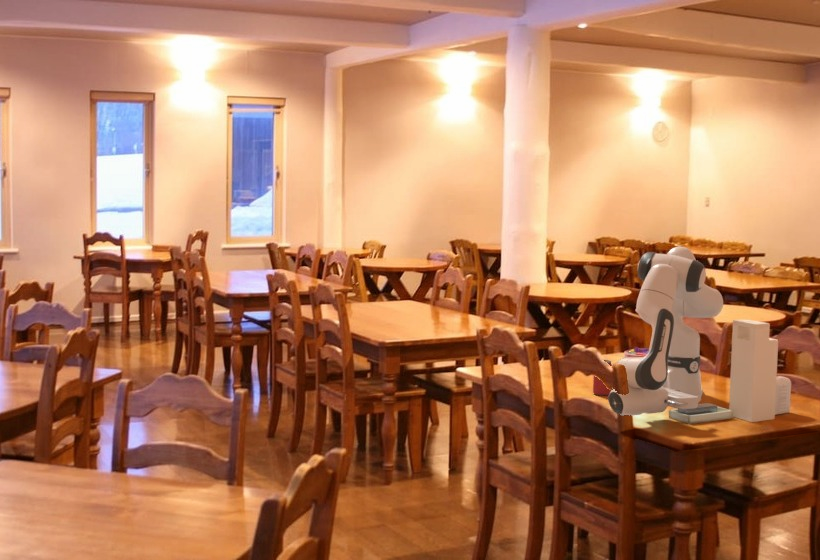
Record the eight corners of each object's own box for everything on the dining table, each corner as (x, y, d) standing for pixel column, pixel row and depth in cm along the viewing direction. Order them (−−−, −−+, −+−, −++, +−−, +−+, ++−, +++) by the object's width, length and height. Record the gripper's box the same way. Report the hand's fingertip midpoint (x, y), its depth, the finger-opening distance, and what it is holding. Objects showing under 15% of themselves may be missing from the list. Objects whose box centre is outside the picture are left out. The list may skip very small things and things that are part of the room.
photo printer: (780, 410, 352) (782, 374, 351) (791, 412, 349) (793, 376, 347) (760, 413, 346) (762, 377, 345) (771, 416, 343) (773, 379, 342)
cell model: (616, 369, 423) (617, 341, 422) (663, 368, 427) (664, 340, 425) (632, 377, 406) (633, 348, 405) (681, 376, 410) (682, 347, 409)
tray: (668, 417, 340) (669, 410, 339) (712, 412, 348) (712, 404, 347) (688, 423, 331) (689, 416, 331) (732, 418, 339) (733, 410, 339)
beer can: (603, 396, 370) (604, 363, 369) (589, 393, 375) (590, 360, 374) (615, 394, 374) (616, 361, 373) (601, 391, 379) (602, 358, 378)
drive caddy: (677, 417, 338) (677, 406, 337) (708, 413, 343) (708, 402, 343) (685, 419, 334) (686, 409, 334) (716, 416, 340) (717, 405, 340)
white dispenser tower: (728, 415, 343) (732, 320, 340) (751, 412, 348) (756, 318, 345) (751, 422, 335) (755, 324, 331) (774, 419, 339) (779, 322, 336)
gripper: (678, 395, 320) (712, 391, 326) (635, 383, 338) (668, 379, 344) (677, 415, 321) (711, 411, 327) (634, 402, 339) (667, 398, 345)
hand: (689, 395), depth 336 cm, fingers open, 8 cm apart
